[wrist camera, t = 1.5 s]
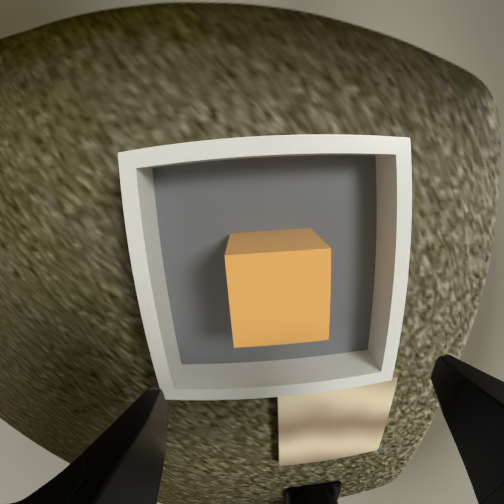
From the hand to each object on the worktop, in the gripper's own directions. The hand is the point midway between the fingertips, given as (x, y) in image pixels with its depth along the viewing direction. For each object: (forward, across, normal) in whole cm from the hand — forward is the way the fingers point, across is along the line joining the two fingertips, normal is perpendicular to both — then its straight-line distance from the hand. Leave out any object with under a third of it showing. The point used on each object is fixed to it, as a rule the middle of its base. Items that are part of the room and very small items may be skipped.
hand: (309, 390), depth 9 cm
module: (+12, 0, +1) cm, 12 cm away
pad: (+11, -5, +16) cm, 20 cm away
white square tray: (+12, 0, +1) cm, 12 cm away
